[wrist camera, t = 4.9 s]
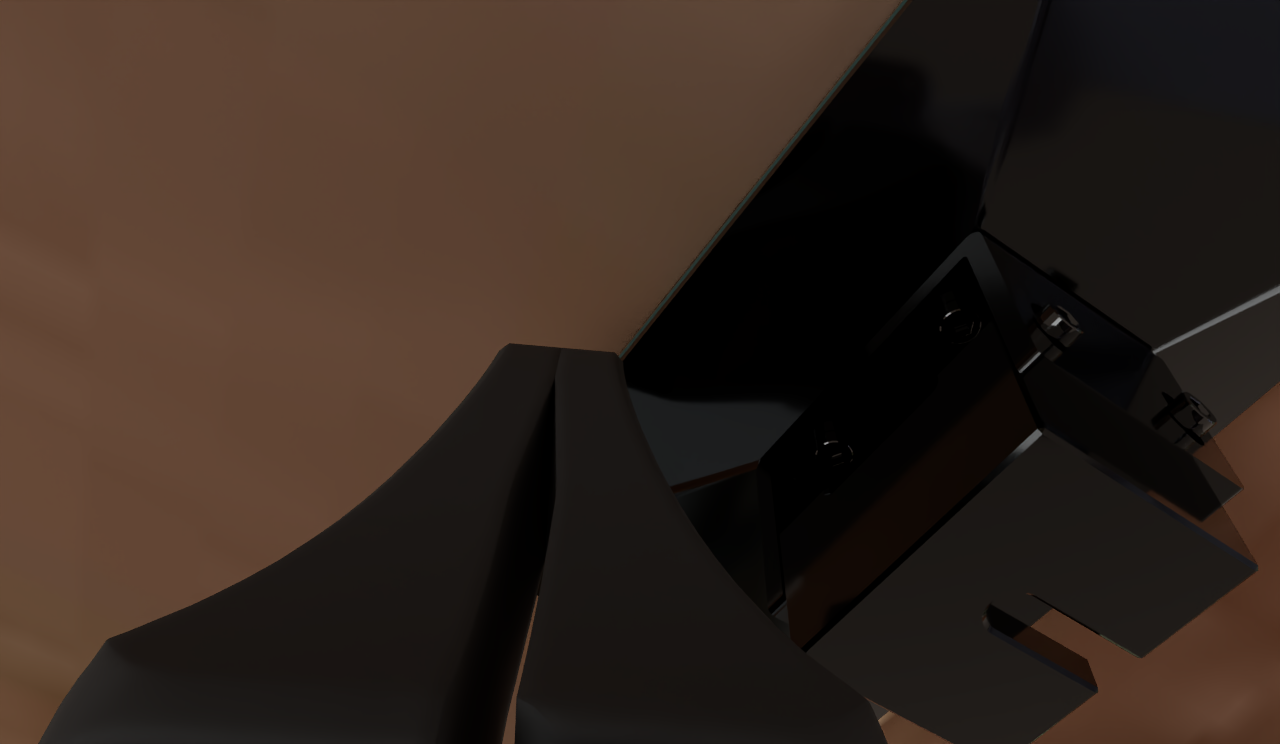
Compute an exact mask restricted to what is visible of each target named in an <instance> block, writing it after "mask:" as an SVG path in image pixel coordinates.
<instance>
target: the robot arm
mask: <svg viewBox="0 0 1280 744" xmlns="http://www.w3.org/2000/svg"><path fill="white" fill-rule="evenodd" d="M544 563H545V564H544ZM543 567H544V570H543ZM542 571H543V575H542ZM541 575H542V581H541V586H540V592H539V597H538V602H537V607H536V612H535V617H534V622H533V627H532V632H531V637H530V642H529V646H528V651H527V655H526V660H525V664H524V669H523V673H522V678H521V682H520V686H519V690H518V694H517V701H516V725H515V744H887V741H886V739H885V736H884V734H883V731H882V729H881V727H880V724H879V722H878V720H877V717H876V715H875V713H874V710H873V708H872V706H871V704H870V703H869V701H868V700H867V699H866V698H865V697H863V696H862V695H861V694H859V693H858V692H857V691H855V690H854V689H853V688H851V687H850V686H849V685H847V684H846V683H845V682H843V681H842V680H841V679H839V678H838V677H837V676H835V675H834V674H833V673H831V672H830V671H829V670H827V669H826V668H825V667H823V666H822V665H821V664H819V663H818V662H817V661H815V660H814V659H813V658H811V657H810V656H809V655H808V654H807V653H805V652H804V651H803V650H802V649H801V648H800V647H798V646H797V645H796V644H795V643H794V642H793V641H792V640H791V639H790V638H789V637H787V636H786V635H785V634H784V633H783V632H782V631H781V630H780V629H779V628H777V627H776V626H775V625H774V624H773V623H772V621H771V620H770V619H769V618H768V617H767V616H766V615H765V614H764V613H763V612H762V611H761V610H760V609H759V608H758V606H757V605H756V604H755V603H754V602H753V601H752V600H751V599H750V598H749V597H748V596H747V595H746V594H745V593H744V592H743V590H742V589H741V588H740V587H739V586H738V585H737V584H736V583H735V581H734V580H733V579H732V578H731V576H730V575H729V574H728V573H727V571H726V570H725V569H724V568H723V566H722V565H721V564H720V563H719V561H718V560H717V559H716V557H715V556H714V555H713V553H712V552H711V551H710V549H709V548H708V546H707V545H706V544H705V542H704V541H703V539H702V538H701V537H700V535H699V534H698V532H697V531H696V529H695V528H694V526H693V525H692V523H691V522H690V520H689V519H688V517H687V515H686V514H685V512H684V510H683V509H682V507H681V506H680V504H679V502H678V500H677V499H676V497H675V495H674V493H673V492H672V490H671V488H670V486H669V484H668V483H667V481H666V479H665V477H664V475H663V473H662V471H661V469H660V467H659V465H658V463H657V461H656V459H655V457H654V455H653V453H652V450H651V448H650V446H649V444H648V442H647V439H646V437H645V435H644V433H643V430H642V428H641V426H640V423H639V421H638V418H637V415H636V412H635V409H634V407H633V404H632V401H631V398H630V395H629V391H628V388H627V384H626V380H625V374H624V367H623V361H622V360H621V359H620V358H619V357H618V356H617V355H616V353H614V352H603V351H591V350H580V349H568V348H557V347H545V346H534V345H522V344H511V343H509V344H508V345H507V346H505V347H504V348H503V349H501V350H500V351H499V352H498V354H497V355H496V357H495V359H494V360H493V362H492V363H491V364H490V366H489V367H488V369H487V370H486V372H485V373H484V374H483V376H482V377H481V379H480V380H479V381H478V382H477V384H476V385H475V386H474V388H473V389H472V390H471V391H470V393H469V394H468V395H467V396H466V398H465V399H464V400H463V401H462V403H461V404H460V405H459V406H458V407H457V408H456V410H455V411H454V412H453V413H452V414H451V415H450V416H449V418H448V419H447V420H446V421H445V422H444V423H443V424H442V426H441V427H440V428H439V429H438V430H437V431H436V432H435V433H434V435H433V436H432V437H431V438H430V439H429V440H428V441H427V442H426V443H425V444H424V445H423V446H422V447H421V448H420V449H419V450H418V451H417V452H416V453H415V454H414V455H413V456H412V457H411V458H410V459H409V460H408V461H407V462H406V463H405V464H404V465H403V466H402V467H401V468H400V469H399V470H397V471H396V472H395V473H394V474H393V475H392V476H391V477H390V478H389V479H388V480H387V481H386V482H385V483H383V484H382V485H381V486H380V487H379V488H378V489H377V490H376V491H374V492H373V493H372V494H371V495H370V496H368V497H367V498H366V499H365V500H364V501H362V502H361V503H360V504H359V505H357V506H356V507H355V508H354V509H352V510H351V511H350V512H349V513H347V514H346V515H345V516H343V517H342V518H341V519H340V520H338V521H337V522H336V523H334V524H333V525H331V526H330V527H328V528H327V529H326V530H324V531H323V532H321V533H320V534H318V535H317V536H316V537H314V538H313V539H311V540H310V541H308V542H306V543H305V544H303V545H302V546H300V547H299V548H297V549H296V550H294V551H293V552H291V553H289V554H288V555H286V556H285V557H283V558H282V559H280V560H278V561H277V562H275V563H273V564H271V565H270V566H268V567H266V568H264V569H262V570H261V571H259V572H257V573H255V574H253V575H252V576H250V577H248V578H246V579H244V580H242V581H240V582H238V583H236V584H234V585H232V586H230V587H228V588H226V589H224V590H222V591H220V592H218V593H216V594H214V595H212V596H210V597H208V598H206V599H204V600H202V601H200V602H198V603H195V604H193V605H191V606H189V607H186V608H184V609H181V610H179V611H177V612H174V613H172V614H169V615H167V616H164V617H162V618H160V619H157V620H155V621H152V622H150V623H147V624H145V625H143V626H140V627H138V628H135V629H133V630H130V631H128V632H125V633H123V634H120V635H117V636H114V637H112V638H109V639H108V640H107V641H106V642H105V643H104V645H103V646H102V647H101V649H100V650H99V652H98V653H97V654H96V656H95V657H94V659H93V660H92V661H91V663H90V664H89V665H88V667H87V668H86V669H85V670H84V672H83V673H82V674H81V675H80V677H79V678H78V679H77V681H76V682H75V684H74V685H73V687H72V688H71V690H70V691H69V693H68V694H67V695H66V697H65V698H64V700H63V701H62V703H61V704H60V706H59V708H58V709H57V711H56V713H55V715H54V717H53V718H52V720H51V722H50V724H49V726H48V727H47V729H46V731H45V733H44V734H43V736H42V738H41V740H40V742H39V743H38V744H502V741H503V736H504V731H505V726H506V720H507V716H508V711H509V707H510V703H511V699H512V695H513V691H514V687H515V683H516V679H517V674H518V670H519V666H520V662H521V658H522V654H523V650H524V646H525V642H526V638H527V633H528V629H529V625H530V621H531V617H532V613H533V609H534V605H535V600H536V596H537V592H538V588H539V584H540V580H541Z"/></svg>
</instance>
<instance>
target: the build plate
mask: <svg viewBox="0 0 1280 744" xmlns="http://www.w3.org/2000/svg"><path fill="white" fill-rule="evenodd" d="M618 357H619V358H620V359H621V360H622V361H623V367H624V374H625V380H626V384H627V388H628V391H629V395H630V398H631V401H632V404H633V407H634V409H635V412H636V415H637V418H638V421H639V423H640V426H641V428H642V430H643V433H644V435H645V437H646V439H647V442H648V444H649V446H650V448H651V450H652V453H653V455H654V457H655V459H656V461H657V463H658V465H659V467H660V469H661V471H662V473H663V475H664V477H665V479H666V481H667V483H668V484H669V486H670V488H671V490H672V492H673V493H674V495H675V497H676V499H677V500H678V502H679V504H680V506H681V507H682V509H683V510H684V512H685V514H686V515H687V517H688V519H689V520H690V522H691V523H692V525H693V526H694V528H695V529H696V531H697V532H698V534H699V535H700V537H701V538H702V539H703V541H704V542H705V544H706V545H707V546H708V548H709V549H710V551H711V552H712V553H713V555H714V556H715V557H716V559H717V560H718V561H719V563H720V564H721V565H722V566H723V568H724V569H725V570H726V571H727V573H728V574H729V575H730V576H731V578H732V579H733V580H734V581H735V583H736V584H737V585H738V586H739V587H740V588H741V589H742V590H743V592H744V593H745V594H746V595H747V596H748V597H749V598H750V599H751V600H752V601H753V602H754V603H755V604H756V605H757V606H758V608H759V609H760V610H761V611H762V612H763V613H764V614H765V615H766V616H767V617H768V618H769V619H770V620H771V621H772V623H773V624H774V625H775V626H776V627H777V628H779V629H780V630H781V631H782V632H783V633H784V634H785V635H786V636H787V637H789V638H790V639H791V640H792V641H793V642H794V643H795V644H796V645H797V646H798V647H800V648H801V649H802V650H803V651H804V652H805V653H807V654H808V655H809V656H810V657H811V658H813V659H814V660H815V661H817V662H818V663H819V664H821V665H822V666H823V667H825V668H826V669H827V670H829V671H830V672H831V673H833V674H834V675H835V676H837V677H838V678H839V679H841V680H842V681H843V682H845V683H846V684H847V685H849V686H850V687H851V688H853V689H854V690H855V691H857V692H858V693H859V694H861V695H862V696H863V697H865V698H866V699H867V700H868V701H869V703H870V704H871V706H872V708H873V710H874V713H875V715H876V717H877V720H879V719H880V718H881V717H882V716H883V715H885V714H886V713H887V712H888V711H890V712H892V713H894V714H896V715H898V716H900V717H902V718H904V719H905V720H907V721H909V722H911V723H913V724H915V725H917V726H919V727H921V728H923V729H924V730H926V731H928V732H930V733H932V734H934V735H936V736H938V737H940V738H942V739H943V740H945V741H947V742H949V743H951V744H1031V743H1032V742H1033V741H1035V740H1036V739H1037V738H1039V737H1040V736H1041V735H1042V734H1044V733H1045V732H1046V731H1048V730H1049V729H1050V728H1052V727H1053V726H1054V725H1056V724H1057V723H1058V722H1060V721H1061V720H1062V719H1064V718H1065V717H1066V716H1067V715H1069V714H1070V713H1071V712H1073V711H1074V710H1075V709H1077V708H1078V707H1079V706H1081V705H1082V704H1083V703H1085V702H1086V701H1087V700H1088V699H1090V698H1091V697H1092V696H1094V695H1095V694H1096V693H1098V687H1097V684H1096V681H1095V679H1094V676H1093V674H1092V671H1091V668H1090V666H1089V663H1088V661H1087V659H1085V658H1083V657H1082V656H1080V655H1078V654H1077V653H1075V652H1073V651H1071V650H1070V649H1068V648H1066V647H1064V646H1063V645H1061V644H1059V643H1057V642H1056V641H1054V640H1052V639H1050V638H1049V637H1047V636H1045V635H1044V634H1042V633H1040V632H1038V631H1037V630H1035V629H1033V628H1031V626H1032V625H1033V624H1034V623H1035V622H1037V621H1038V620H1039V619H1040V618H1042V617H1043V616H1044V615H1045V614H1046V613H1048V612H1049V611H1050V610H1051V609H1052V608H1054V609H1056V610H1057V611H1059V612H1061V613H1062V614H1064V615H1066V616H1067V617H1069V618H1071V619H1073V620H1074V621H1076V622H1078V623H1079V624H1081V625H1083V626H1084V627H1086V628H1088V629H1090V630H1091V631H1093V632H1095V633H1096V634H1098V635H1100V636H1102V637H1103V638H1105V639H1107V640H1108V641H1110V642H1112V643H1113V644H1115V645H1117V646H1119V647H1120V648H1122V649H1124V650H1125V651H1127V652H1129V653H1130V654H1132V655H1134V656H1136V657H1138V658H1143V657H1145V656H1146V655H1148V654H1149V653H1150V652H1152V651H1153V650H1154V649H1155V648H1157V647H1158V646H1159V645H1161V644H1162V643H1163V642H1165V641H1166V640H1167V639H1169V638H1170V637H1171V636H1173V635H1174V634H1175V633H1176V632H1178V631H1179V630H1180V629H1182V628H1183V627H1184V626H1186V625H1187V624H1188V623H1190V622H1191V621H1192V620H1194V619H1195V618H1196V617H1198V616H1199V615H1200V614H1201V613H1203V612H1204V611H1205V610H1207V609H1208V608H1209V607H1211V606H1212V605H1213V604H1215V603H1216V602H1217V601H1219V600H1220V599H1221V598H1222V597H1224V596H1225V595H1226V594H1228V593H1229V592H1230V591H1232V590H1233V589H1234V588H1236V587H1237V586H1238V585H1240V584H1241V583H1242V582H1243V581H1245V580H1246V579H1247V578H1249V577H1250V576H1251V575H1253V574H1254V573H1255V572H1257V571H1258V565H1257V563H1256V561H1255V560H1254V558H1253V556H1252V555H1251V553H1250V551H1249V550H1248V548H1247V546H1246V545H1245V543H1244V541H1243V540H1242V538H1241V536H1240V535H1239V533H1238V531H1237V530H1236V528H1235V526H1234V525H1233V523H1232V521H1231V520H1230V518H1229V516H1228V515H1227V513H1226V511H1225V510H1224V508H1223V505H1225V504H1226V503H1227V502H1228V501H1229V500H1231V499H1232V498H1233V497H1234V496H1236V495H1237V494H1238V493H1239V492H1241V491H1242V490H1243V489H1244V486H1243V485H1242V483H1241V482H1240V480H1239V478H1238V477H1237V475H1236V474H1235V472H1234V471H1233V469H1232V467H1231V466H1230V464H1229V463H1228V461H1227V460H1226V458H1225V457H1224V455H1223V453H1222V452H1221V450H1220V449H1219V447H1218V446H1217V444H1216V442H1215V441H1214V439H1213V437H1214V436H1215V435H1216V434H1218V433H1219V432H1220V431H1221V430H1222V429H1224V428H1225V427H1226V426H1227V425H1228V424H1230V423H1231V422H1232V421H1233V420H1234V419H1235V418H1237V417H1238V416H1239V415H1240V414H1241V413H1243V412H1244V411H1245V410H1246V409H1247V408H1248V407H1250V406H1251V405H1252V404H1253V403H1254V402H1256V401H1257V400H1258V399H1259V398H1260V397H1262V396H1263V395H1264V394H1265V393H1266V392H1267V391H1269V390H1270V389H1271V388H1272V387H1273V386H1275V385H1276V384H1277V383H1278V382H1279V381H1280V0H902V1H901V2H900V3H899V4H898V6H897V7H896V8H895V9H894V11H893V12H892V13H891V14H890V16H889V17H888V18H887V19H886V21H885V22H884V23H883V24H882V26H881V27H880V28H879V29H878V31H877V32H876V33H875V34H874V36H873V37H872V38H871V39H870V41H869V42H868V43H867V44H866V46H865V47H864V48H863V50H862V51H861V52H860V53H859V55H858V56H857V57H856V58H855V60H854V61H853V62H852V63H851V65H850V66H849V67H848V68H847V70H846V71H845V72H844V73H843V75H842V76H841V77H840V78H839V80H838V81H837V82H836V83H835V85H834V86H833V87H832V88H831V90H830V91H829V92H828V93H827V95H826V96H825V97H824V98H823V100H822V101H821V102H820V103H819V105H818V106H817V107H816V108H815V110H814V111H813V112H812V113H811V115H810V116H809V117H808V118H807V120H806V121H805V122H804V123H803V125H802V126H801V127H800V128H799V130H798V131H797V132H796V133H795V135H794V136H793V137H792V138H791V140H790V141H789V142H788V143H787V145H786V146H785V147H784V148H783V150H782V151H781V152H780V153H779V155H778V156H777V157H776V158H775V160H774V161H773V162H772V163H771V165H770V166H769V167H768V168H767V170H766V171H765V172H764V173H763V175H762V176H761V177H760V178H759V180H758V181H757V182H756V183H755V185H754V186H753V187H752V188H751V190H750V191H749V192H748V193H747V195H746V196H745V197H744V198H743V200H742V201H741V202H740V203H739V205H738V206H737V207H736V208H735V210H734V211H733V212H732V213H731V215H730V216H729V217H728V219H727V220H726V221H725V222H724V224H723V225H722V226H721V227H720V229H719V230H718V231H717V232H716V234H715V235H714V236H713V237H712V239H711V240H710V241H709V242H708V244H707V245H706V246H705V247H704V249H703V250H702V251H701V252H700V254H699V255H698V256H697V257H696V259H695V260H694V261H693V262H692V264H691V265H690V266H689V267H688V269H687V270H686V271H685V272H684V274H683V275H682V276H681V277H680V279H679V280H678V281H677V282H676V284H675V285H674V286H673V287H672V289H671V290H670V291H669V292H668V294H667V295H666V296H665V297H664V299H663V300H662V301H661V302H660V304H659V305H658V306H657V307H656V309H655V310H654V311H653V312H652V314H651V315H650V316H649V317H648V319H647V320H646V321H645V322H644V324H643V325H642V326H641V327H640V329H639V330H638V331H637V332H636V334H635V335H634V336H633V337H632V339H631V340H630V341H629V342H628V344H627V345H626V346H625V347H624V349H623V350H622V351H621V352H620V354H619V355H618ZM544 564H545V563H544ZM543 570H544V567H543ZM542 575H543V571H542ZM542 575H541V580H540V584H539V588H538V592H537V595H538V596H539V592H540V586H541V581H542Z"/></svg>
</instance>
